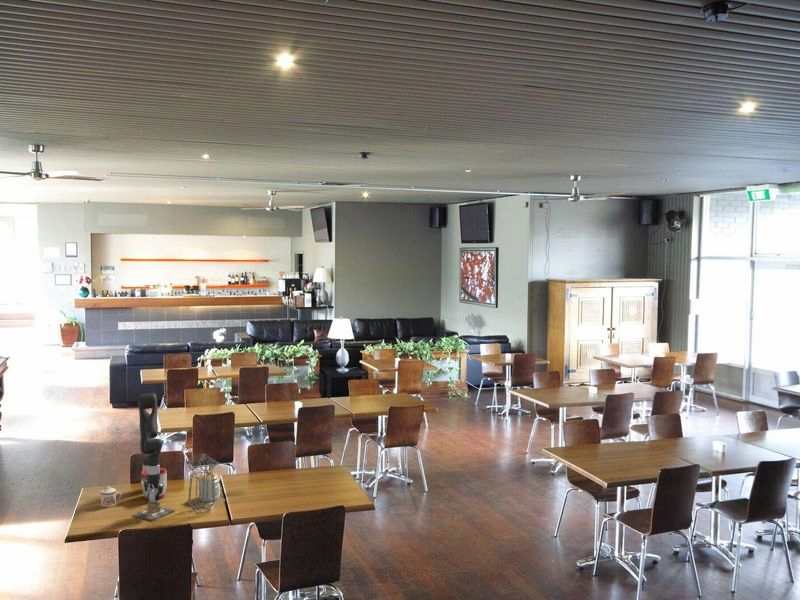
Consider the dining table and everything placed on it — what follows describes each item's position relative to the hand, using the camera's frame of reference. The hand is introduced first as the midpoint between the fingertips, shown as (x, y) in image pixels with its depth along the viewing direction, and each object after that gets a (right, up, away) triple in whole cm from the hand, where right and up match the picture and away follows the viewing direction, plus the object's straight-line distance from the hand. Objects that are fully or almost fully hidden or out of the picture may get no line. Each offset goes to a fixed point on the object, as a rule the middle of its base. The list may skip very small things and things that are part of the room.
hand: (153, 499), depth 439 cm
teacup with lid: (-31, -7, +15) cm, 35 cm away
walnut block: (0, -8, +1) cm, 8 cm away
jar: (+26, -7, +29) cm, 39 cm away
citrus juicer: (-10, -7, +28) cm, 30 cm away
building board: (0, -9, +1) cm, 9 cm away
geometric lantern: (+27, -9, +9) cm, 30 cm away
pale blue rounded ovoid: (0, -1, 0) cm, 1 cm away
